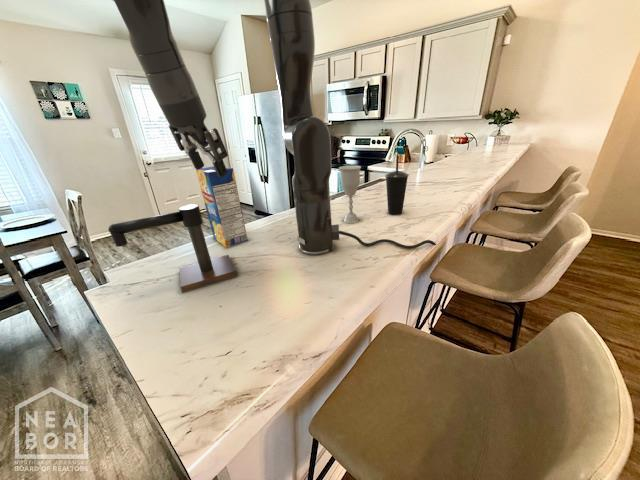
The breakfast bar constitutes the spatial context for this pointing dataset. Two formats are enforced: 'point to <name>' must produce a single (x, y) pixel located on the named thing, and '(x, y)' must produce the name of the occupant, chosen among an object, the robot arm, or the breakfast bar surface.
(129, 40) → the robot arm
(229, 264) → the base
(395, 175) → the drinking cup
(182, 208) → the spout
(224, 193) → the blue and yellow box
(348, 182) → the chalice
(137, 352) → the breakfast bar surface
